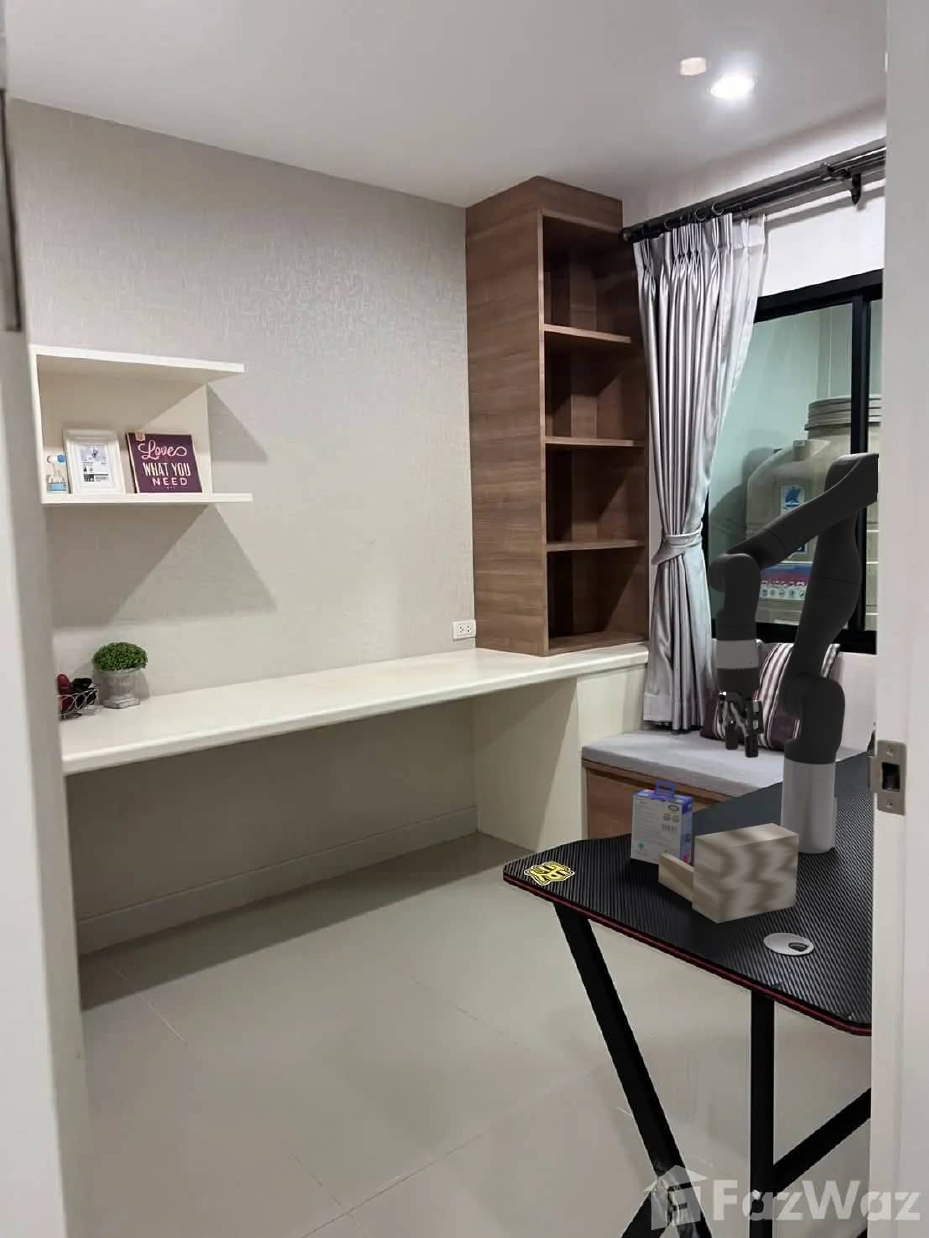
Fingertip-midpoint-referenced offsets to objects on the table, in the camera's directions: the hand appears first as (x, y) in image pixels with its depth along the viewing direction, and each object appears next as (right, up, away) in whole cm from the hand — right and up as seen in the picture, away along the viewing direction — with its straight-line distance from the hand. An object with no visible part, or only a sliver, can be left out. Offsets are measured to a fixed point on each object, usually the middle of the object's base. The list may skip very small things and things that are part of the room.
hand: (741, 753), depth 168 cm
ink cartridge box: (-14, -20, +2) cm, 25 cm away
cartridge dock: (-7, -22, -13) cm, 26 cm away
